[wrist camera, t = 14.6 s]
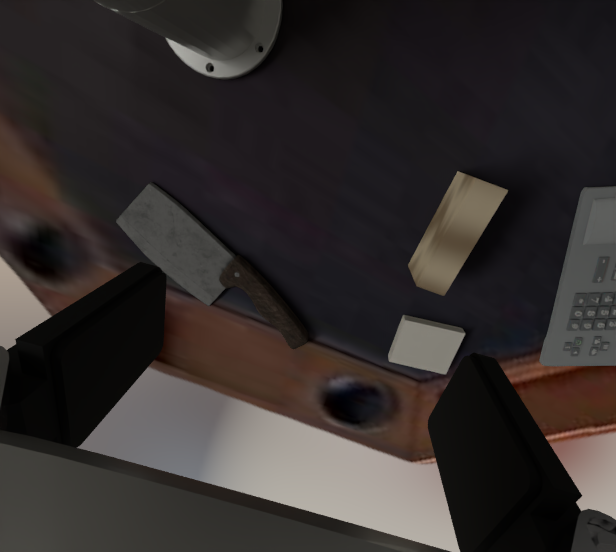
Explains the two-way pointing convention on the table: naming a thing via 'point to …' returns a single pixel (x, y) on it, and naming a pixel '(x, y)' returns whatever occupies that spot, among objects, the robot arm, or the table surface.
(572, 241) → the office telephone
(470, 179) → the tan wooden block
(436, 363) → the tile
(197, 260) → the cleaver
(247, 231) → the table surface
